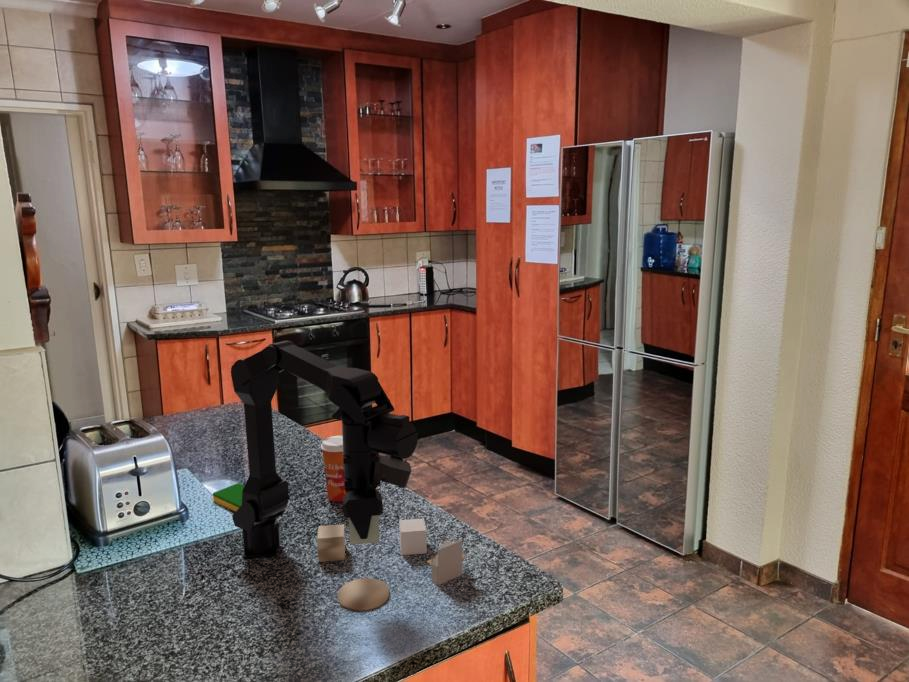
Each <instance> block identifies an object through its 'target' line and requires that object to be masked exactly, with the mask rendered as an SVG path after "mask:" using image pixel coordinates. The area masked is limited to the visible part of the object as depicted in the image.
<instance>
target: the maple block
mask: <svg viewBox="0 0 909 682" xmlns="http://www.w3.org/2000/svg"><path fill="white" fill-rule="evenodd" d="M317 529H318V530H317V539H316V540H317V541H316V542H317V559H318V560H317V561H318V563H322V562H333V561H345V559H346V539H345V538H346V537H345V524H344V523H343V524H330V525H319V526H318V528H317Z"/></svg>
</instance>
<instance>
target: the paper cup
mask: <svg viewBox="0 0 909 682" xmlns="http://www.w3.org/2000/svg"><path fill="white" fill-rule="evenodd" d="M320 449H321V451H322V459H323V467H324V468H323V469H324V479H325V487H326V488H325V489H326V494H327V495H326V496H327V499H328V501H331V502H334V503H341V502H342V503H343V497H344V496H345V495H346V494H347V493H346V491H345V488H344V474H343V464H344V463H343V436H342V435H333V436H328V437H326V438H325V439H323V440H322V443H321V445H320Z"/></svg>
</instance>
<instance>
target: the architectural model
mask: <svg viewBox="0 0 909 682" xmlns="http://www.w3.org/2000/svg"><path fill="white" fill-rule="evenodd" d="M465 559H467V555H466V554H465V553H463V540H462V539H460V540H457V541H455V542H452V541H450V540H448V539H446V540H445V542H444V543H443V544H442V546H441V547H439V548H438V549H437V554H436V555H433V556H431V558H430V559H428V560H427V561H426V562H427V563H428V564H429V565H430V566H431V569H430V571H431V582H433V583H434V584H435V585H436V586H437V585H441V584H444V583H446V582H448V581H451V580H453V579H456V578H458V577H461V576H462V575H463V560H465Z"/></svg>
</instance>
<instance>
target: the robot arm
mask: <svg viewBox="0 0 909 682" xmlns="http://www.w3.org/2000/svg"><path fill="white" fill-rule="evenodd" d="M283 371H286V372H287V373H289V374H292V375H293V376H295V377H297V378H300V379H301V380H303V381H305V382H307V383H309V384H311V385H313V386H315V387H316V388H318V389H320V390H321V391H323V392H324V393H325V395H326V397H327V399H328V401H329V402H330V403H332V404H333V405H334V406H336V407H337V408H338V409H337V410H336V411H335V412H333V414H331V419H333V420H335V421H340V422H341V431H342V433H341V434H342V435H341V436H343V463H344V464H343V474H344V488H345V491H346V493H347V494H346V495H345V496H344V497H343V501H342V503H343V504H342V505H343V508H342V510H343V517H345V518H347V519H349V518H350V520H351V522H352V524H353V525H354V527H355V529H356V531H357V533H358V535H359V537H360V538H361V539H367V537H368V532H369V527H370V522H371V518H372V516H375V515H379V516H381V515H382V514H383V513H384V509H383V508H384V507H383V506H384V503H383V496H382V493H381V492H380V491H378V489H377V488H378V487H380V486H381V484H382V482H383V483H387V484H390V485H394V486H397V487H398V488H401V489H406V488H407V485H408V482H409V480H410V477H411V473H412V472H413V471H412V467H411V466H412V465H411V464H410V462H408V460H407V459H408V458H410V457H411V456H412V455H413V454H414V452H415V451H416V450H417V449H416V448H417V445H418V442H419V441H418V440H419V432H418V431H417V428H416V426H415V425H414V424H413V423H410V416H409V415H405V414H394V413H393V412H395V407H394V405H393V404H392V402H391V400H390V399H389V397H388V395H387V393H386V391H385V390H384V388H383V386H382V385H381V383H380V382H379V377H378V376H377V375H376V374H375V373H374V372H372V371H369V370H365V369H363V368H362V369H361V368H358V367H346V366H345V367H344V366H339V365H337V364H335V363H332V362H331V361H329V360H327V359H324V358H323V357H320V356H318V355H317V354H314V353H312V352H310V351H308V350H305V349H304V348H302V347H299V346H297V345H296V343H294V342H293V341H291V340H282V341H279V342H275V343H270V344H268V345H267V346H265V347H264V348H263V349H262V350H260V351H258V352H256V353H253V354H252V355H250V356H248V357H245V358H240V359H237V360H236V361H235V362H234V363H233V364H232V365H231V367H230V377H231V381H232V386H233V391H234V394H236V395H237V397H238V398H239V399H240V401H241V402H242V403H243V409H244V422H245V424H244V425H245V435H246V448H247V460H248V461H247V462H248V473H249V475H248V478H247V480H246V482H245V484H244V488H243V491H242V505H241V506H240V508H239V509H238V510H237V511H236V512H235V511H234V513H233V514H232V517H231V518H232V522H233V524H234V527H236V528H239V529H242V542H243V551H242V555H241V556H242V558H243V559H246V558H247V559H249V558H250V559H251V558H261V557H272V556H276V555H277V553H278V550H279V549H280V547H281V543H282V533H281V532H282V531H281V524H280V522H278V518H279V517H282V516H284V514H285V511H286V508H287V507H288V502H289V500H291V496H290V495H289V494H290V493H289V482H288V481H287V480H283V479H282V477H281V476H280V475H279V474H278V473H277V465H276V464H277V462H276V451H275V450H276V449H275V436H274V423H273V422H274V421H273V420H274V419H273V408H272V407H273V406H272V400H273V398H274V396H275V394H276V392H277V390H278V388H279V381H280V379H279V378H280V373H281V372H283ZM373 404H376V405H374V406H371V405H373ZM369 406H371V407H370V408H367V409H364V408H366V407H369ZM362 409H364V410H362ZM379 453H380V454H379ZM381 454H383V455H381Z"/></svg>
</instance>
